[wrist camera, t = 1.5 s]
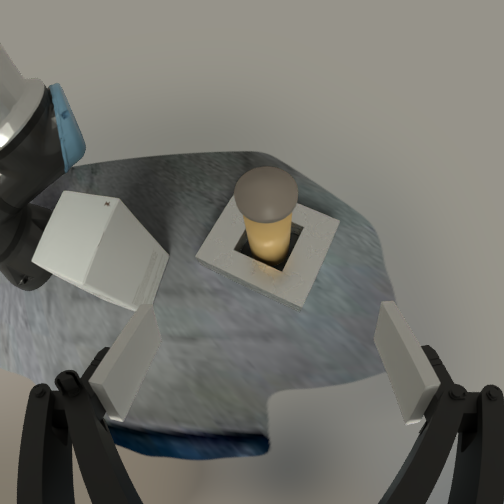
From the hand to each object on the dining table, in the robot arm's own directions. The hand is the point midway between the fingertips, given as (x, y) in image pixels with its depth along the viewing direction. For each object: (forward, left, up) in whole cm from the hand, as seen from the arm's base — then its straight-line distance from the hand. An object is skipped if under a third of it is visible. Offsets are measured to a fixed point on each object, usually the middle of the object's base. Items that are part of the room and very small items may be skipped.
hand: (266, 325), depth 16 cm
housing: (-6, +11, -19) cm, 23 cm away
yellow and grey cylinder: (-6, +11, -19) cm, 23 cm away
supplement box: (-21, -1, -19) cm, 28 cm away
